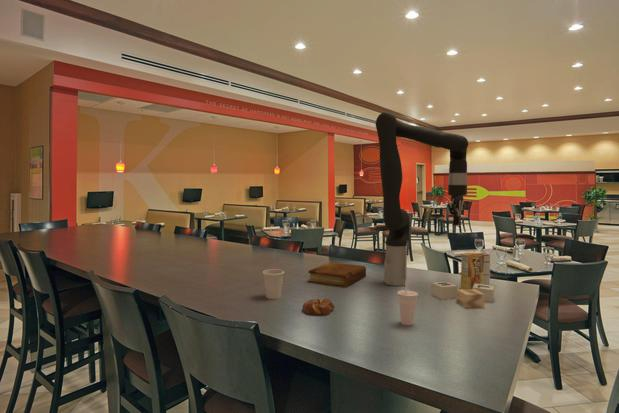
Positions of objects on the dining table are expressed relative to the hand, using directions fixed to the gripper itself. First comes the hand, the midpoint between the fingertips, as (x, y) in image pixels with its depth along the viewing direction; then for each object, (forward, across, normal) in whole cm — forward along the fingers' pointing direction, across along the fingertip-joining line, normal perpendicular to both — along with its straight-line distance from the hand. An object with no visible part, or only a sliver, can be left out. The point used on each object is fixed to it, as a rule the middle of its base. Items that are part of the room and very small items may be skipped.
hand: (456, 224), depth 162 cm
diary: (+28, -26, +44) cm, 58 cm away
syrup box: (+27, +14, -6) cm, 31 cm away
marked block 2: (+27, -8, -15) cm, 32 cm away
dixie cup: (+27, -65, +42) cm, 82 cm away
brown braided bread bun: (+28, -64, +19) cm, 72 cm away
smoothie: (+27, -52, -8) cm, 60 cm away
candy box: (+27, +2, -6) cm, 28 cm away
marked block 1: (+27, -16, -3) cm, 31 cm away
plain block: (+27, -19, -14) cm, 36 cm away
